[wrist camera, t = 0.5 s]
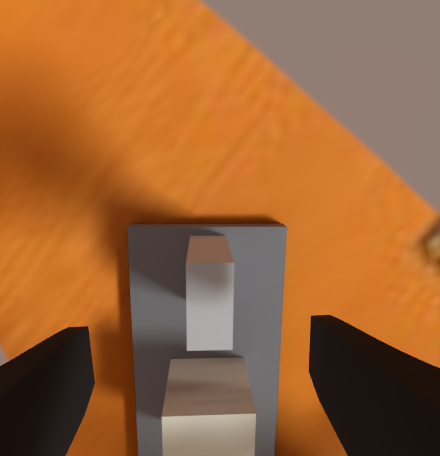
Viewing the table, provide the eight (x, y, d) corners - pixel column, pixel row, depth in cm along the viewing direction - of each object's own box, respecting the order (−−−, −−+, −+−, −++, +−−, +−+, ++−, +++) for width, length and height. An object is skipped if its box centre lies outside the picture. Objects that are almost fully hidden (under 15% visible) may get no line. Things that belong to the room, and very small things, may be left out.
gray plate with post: (269, 470, 23) (293, 577, 17) (142, 475, 22) (121, 588, 16) (282, 223, 19) (318, 250, 13) (130, 223, 19) (98, 251, 13)
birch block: (242, 419, 21) (253, 489, 16) (172, 422, 20) (164, 493, 16) (243, 357, 20) (255, 413, 15) (170, 359, 19) (161, 416, 15)
